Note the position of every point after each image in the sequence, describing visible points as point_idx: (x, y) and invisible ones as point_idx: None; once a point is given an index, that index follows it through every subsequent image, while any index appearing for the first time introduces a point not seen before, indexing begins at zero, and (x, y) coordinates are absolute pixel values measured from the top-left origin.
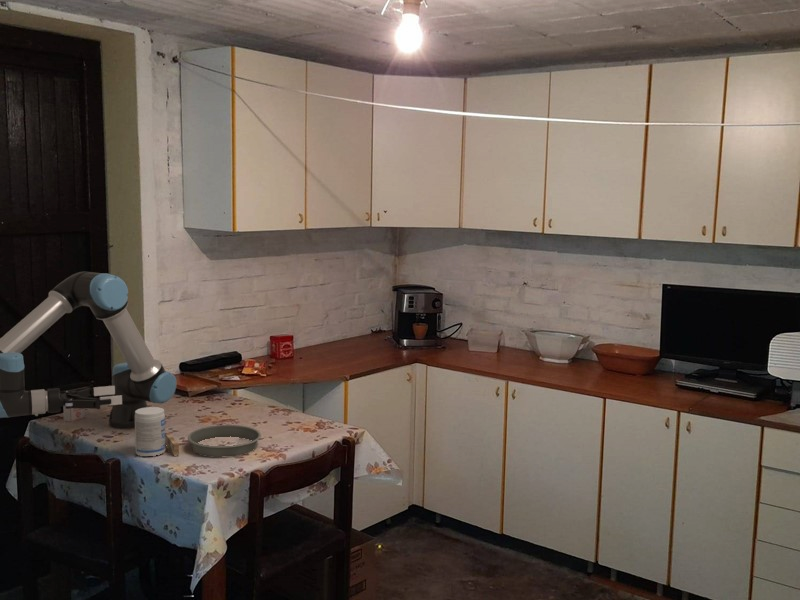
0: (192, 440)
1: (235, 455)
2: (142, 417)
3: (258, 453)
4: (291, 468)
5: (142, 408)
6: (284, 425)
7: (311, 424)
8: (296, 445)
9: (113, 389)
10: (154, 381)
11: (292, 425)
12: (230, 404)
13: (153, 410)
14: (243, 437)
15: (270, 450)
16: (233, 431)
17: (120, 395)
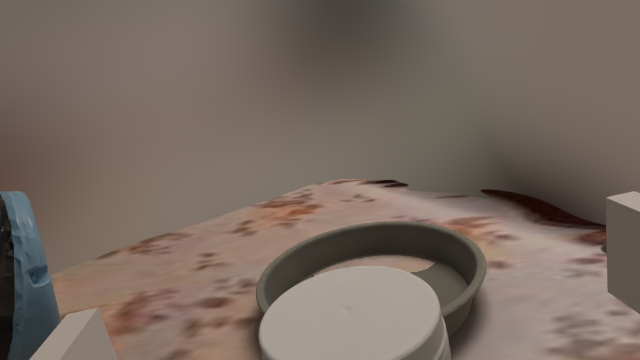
0: None
1: (461, 275)
2: (438, 349)
3: None
4: (555, 207)
5: (277, 345)
6: (254, 233)
7: (272, 210)
8: (397, 213)
9: (103, 356)
10: (9, 248)
11: (261, 226)
12: None
13: (354, 295)
14: (312, 271)
15: None
16: (286, 275)
17: (617, 201)
